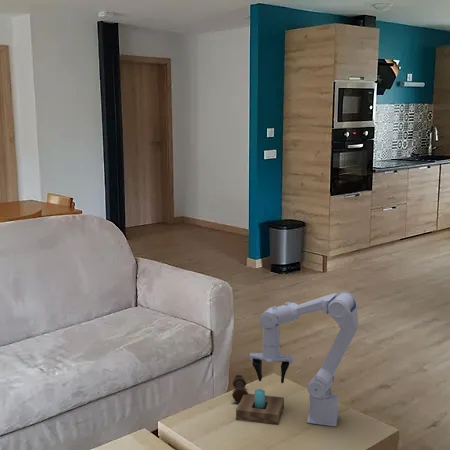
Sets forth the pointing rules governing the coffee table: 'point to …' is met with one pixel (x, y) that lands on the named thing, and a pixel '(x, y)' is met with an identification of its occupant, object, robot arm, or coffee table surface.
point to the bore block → (266, 415)
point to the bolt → (239, 388)
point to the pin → (260, 399)
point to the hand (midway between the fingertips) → (271, 381)
